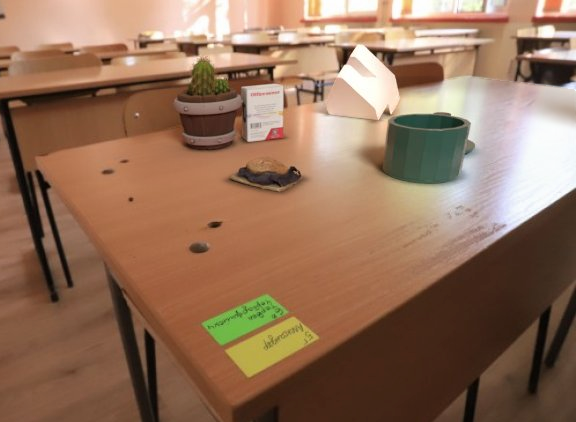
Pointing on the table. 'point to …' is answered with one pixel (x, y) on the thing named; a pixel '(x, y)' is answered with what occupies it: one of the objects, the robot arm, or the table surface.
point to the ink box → (262, 112)
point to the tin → (425, 147)
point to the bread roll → (268, 174)
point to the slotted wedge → (363, 87)
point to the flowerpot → (207, 108)
